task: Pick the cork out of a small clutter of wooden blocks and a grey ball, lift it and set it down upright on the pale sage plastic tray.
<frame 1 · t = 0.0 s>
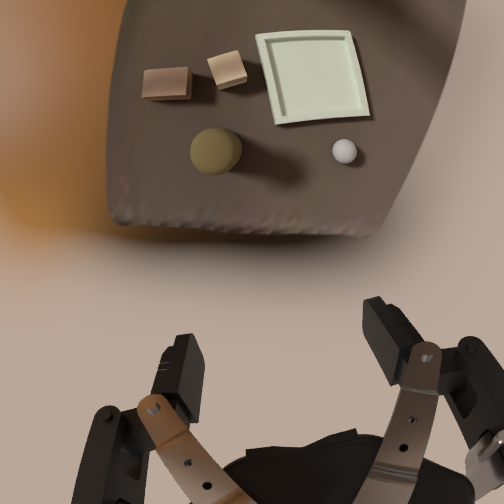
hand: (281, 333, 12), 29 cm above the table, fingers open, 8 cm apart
grey ball: (344, 151, 35), point 2 cm above the table
tray: (312, 74, 32), on the table
walnut block: (171, 87, 32), on the table
maple block: (228, 74, 32), on the table
cork: (220, 149, 36), on the table
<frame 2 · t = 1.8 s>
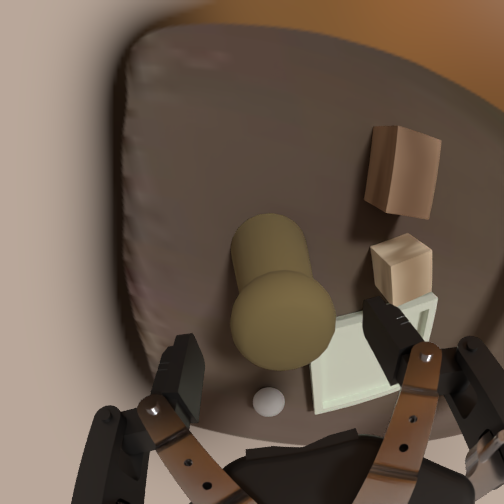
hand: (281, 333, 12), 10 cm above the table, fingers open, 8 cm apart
grey ball: (268, 401, 27), point 2 cm above the table
tray: (369, 356, 27), on the table
walnut block: (389, 167, 19), on the table
maple block: (391, 259, 22), on the table
cork: (268, 249, 22), on the table
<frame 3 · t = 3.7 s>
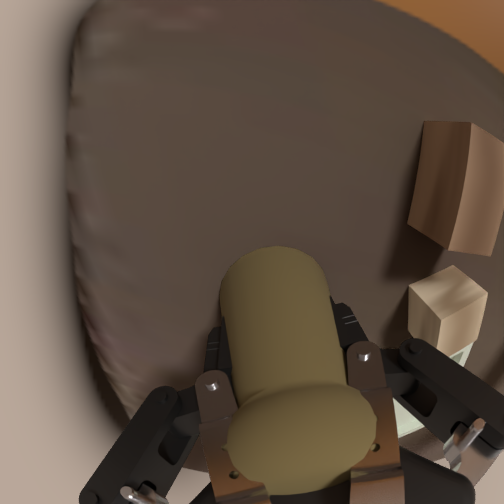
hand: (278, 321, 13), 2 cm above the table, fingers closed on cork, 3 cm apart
tray: (389, 402, 20), on the table
walnut block: (440, 179, 13), on the table
maple block: (430, 298, 16), on the table
cork: (274, 295, 15), on the table, touching gripper
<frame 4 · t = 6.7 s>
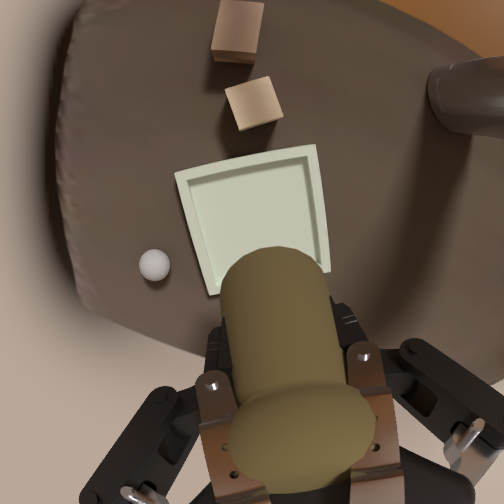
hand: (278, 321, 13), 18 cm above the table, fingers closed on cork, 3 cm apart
grey ball: (154, 265, 29), point 2 cm above the table
tray: (257, 220, 29), on the table
walnut block: (238, 39, 21), on the table
maple block: (252, 107, 25), on the table
cork: (274, 295, 15), point 15 cm above the table, touching gripper
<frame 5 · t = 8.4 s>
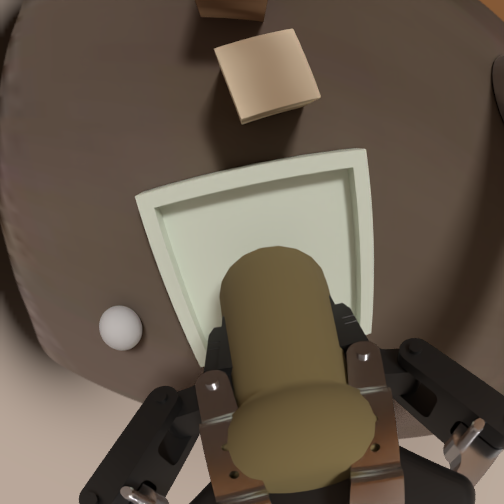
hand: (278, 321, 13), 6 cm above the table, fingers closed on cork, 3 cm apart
grey ball: (120, 328, 19), point 2 cm above the table
tray: (269, 266, 19), on the table
maple block: (262, 86, 14), on the table
cork: (274, 294, 15), point 4 cm above the table, touching gripper
when the fingers open (5 cm above the table, at t = 9.6 s): cork drops 2 cm, resting on tray.
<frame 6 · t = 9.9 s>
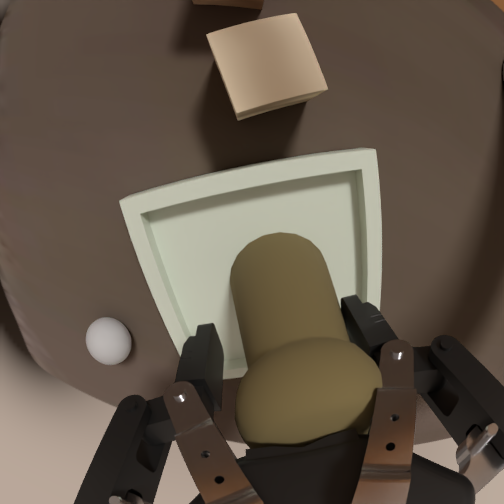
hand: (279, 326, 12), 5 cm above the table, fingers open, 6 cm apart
grey ball: (108, 341, 17), point 2 cm above the table
tray: (268, 277, 17), on the table
maple block: (260, 78, 13), on the table
cork: (279, 277, 17), resting on tray, touching gripper
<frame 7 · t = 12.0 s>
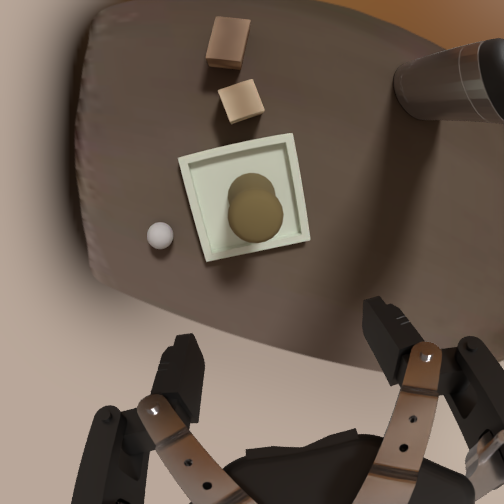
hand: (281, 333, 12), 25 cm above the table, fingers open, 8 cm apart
grey ball: (160, 235, 34), point 2 cm above the table
tray: (246, 196, 35), on the table
walnut block: (229, 48, 27), on the table
maple block: (241, 104, 30), on the table
cork: (251, 196, 34), resting on tray
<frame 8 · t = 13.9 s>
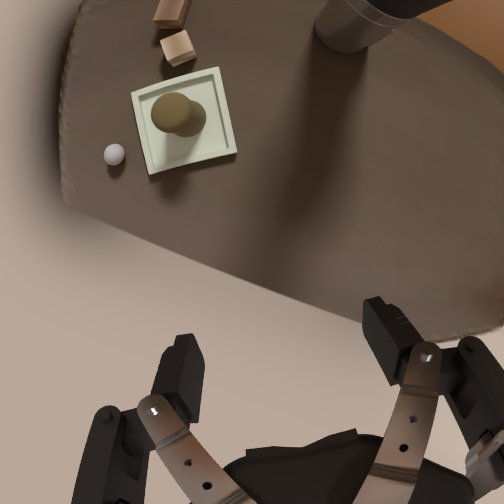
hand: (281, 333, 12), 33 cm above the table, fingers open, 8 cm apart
grey ball: (114, 154, 37), point 2 cm above the table
tray: (183, 120, 37), on the table
walnut block: (175, 15, 30), on the table
maple block: (181, 52, 33), on the table
cork: (187, 118, 37), resting on tray
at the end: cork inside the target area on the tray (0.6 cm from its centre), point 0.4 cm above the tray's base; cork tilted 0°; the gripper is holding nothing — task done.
